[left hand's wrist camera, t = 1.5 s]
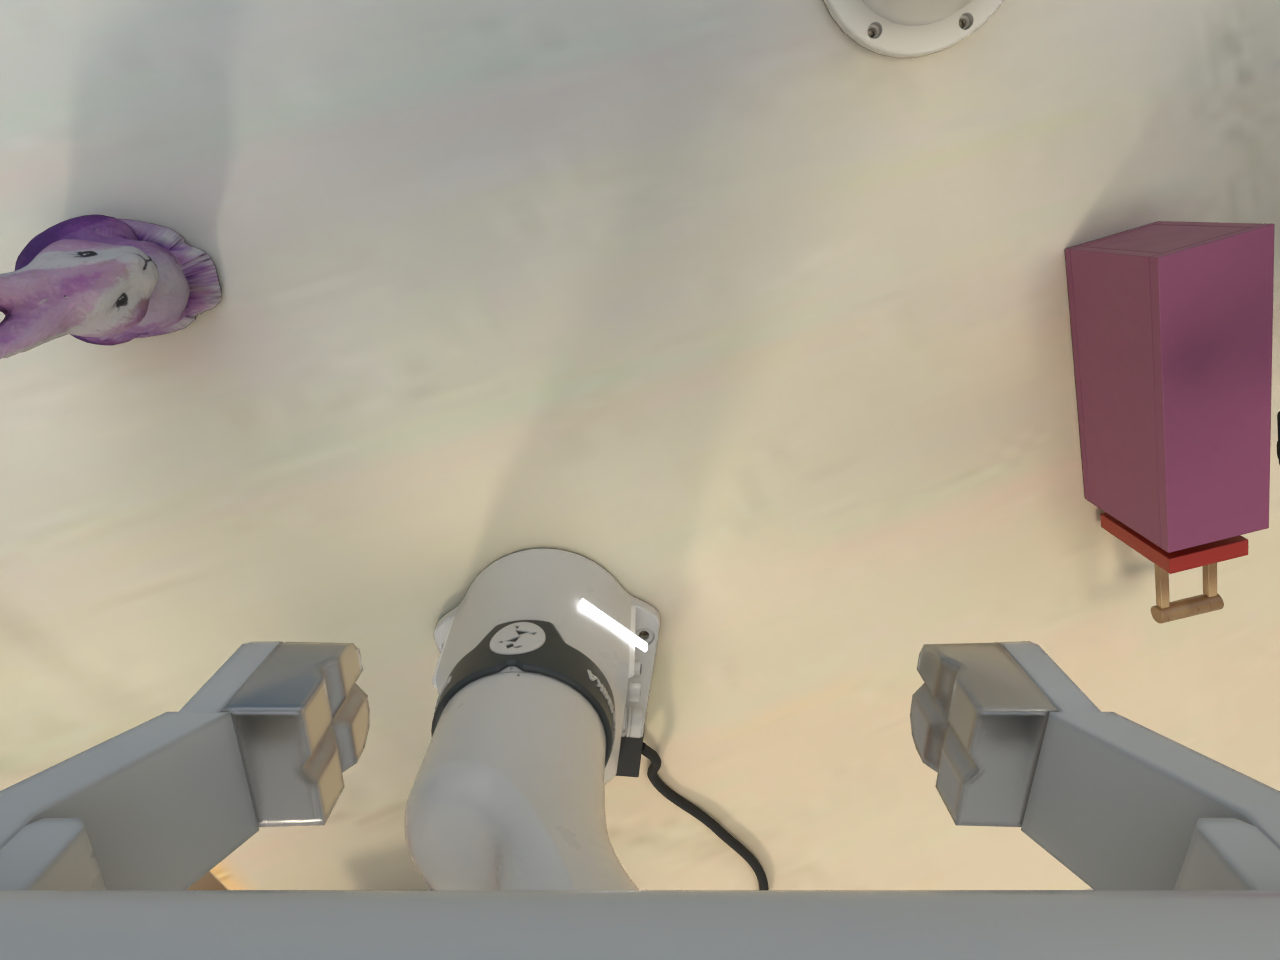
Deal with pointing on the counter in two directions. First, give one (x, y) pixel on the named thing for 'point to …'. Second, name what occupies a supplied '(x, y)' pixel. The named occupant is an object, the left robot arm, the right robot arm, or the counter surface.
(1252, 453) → the cabinet
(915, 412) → the counter surface
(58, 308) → the figurine
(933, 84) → the counter surface
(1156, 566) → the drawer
